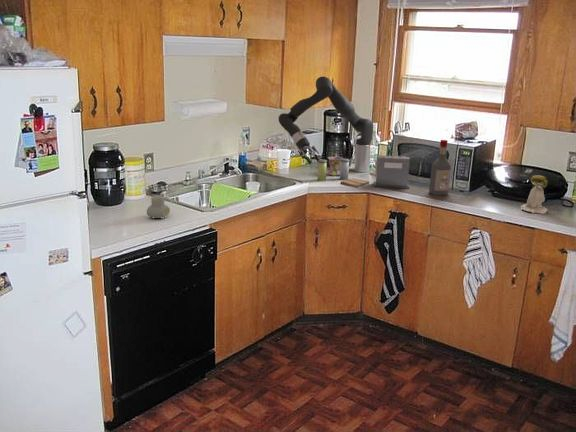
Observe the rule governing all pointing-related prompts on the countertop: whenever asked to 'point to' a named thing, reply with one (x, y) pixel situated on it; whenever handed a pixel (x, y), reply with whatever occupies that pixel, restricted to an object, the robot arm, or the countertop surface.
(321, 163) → the green cartridge
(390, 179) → the box
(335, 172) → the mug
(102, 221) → the countertop surface
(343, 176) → the cylinder
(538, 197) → the beige tapered lump
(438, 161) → the liquor
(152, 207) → the grey brown bulbous piece
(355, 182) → the pad
